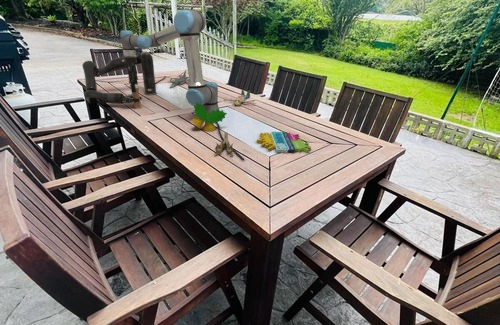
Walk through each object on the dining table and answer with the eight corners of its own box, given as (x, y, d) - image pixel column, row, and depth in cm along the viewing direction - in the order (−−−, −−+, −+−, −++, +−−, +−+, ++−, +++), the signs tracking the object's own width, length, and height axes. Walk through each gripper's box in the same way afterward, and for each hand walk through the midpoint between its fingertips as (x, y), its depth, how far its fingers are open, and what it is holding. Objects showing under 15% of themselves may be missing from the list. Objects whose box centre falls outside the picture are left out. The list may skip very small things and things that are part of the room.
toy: (261, 91, 228) (254, 99, 202) (261, 99, 231) (253, 108, 205) (231, 87, 233) (220, 95, 207) (230, 95, 236) (219, 104, 210)
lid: (135, 86, 188) (135, 83, 187) (140, 87, 185) (140, 85, 184) (128, 87, 184) (128, 84, 183) (133, 89, 181) (133, 86, 180)
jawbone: (234, 135, 144) (233, 125, 135) (233, 160, 138) (232, 151, 129) (217, 135, 144) (216, 125, 135) (216, 160, 138) (214, 150, 129)
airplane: (160, 80, 270) (159, 70, 265) (190, 78, 283) (189, 68, 278) (168, 89, 242) (167, 78, 236) (201, 87, 255) (201, 77, 250)
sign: (313, 150, 142) (258, 149, 139) (312, 153, 143) (258, 152, 140) (301, 132, 164) (254, 130, 161) (301, 134, 165) (254, 133, 162)
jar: (142, 107, 192) (139, 86, 184) (135, 108, 188) (132, 87, 181) (139, 105, 194) (136, 84, 187) (133, 107, 191) (129, 85, 184)
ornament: (218, 133, 171) (224, 110, 169) (221, 134, 163) (227, 111, 161) (186, 125, 162) (192, 101, 160) (189, 126, 155) (195, 101, 153)
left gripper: (110, 95, 179) (136, 96, 181) (118, 90, 191) (142, 91, 193) (113, 106, 183) (138, 107, 184) (120, 100, 195) (143, 101, 197)
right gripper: (132, 59, 166) (137, 94, 177) (139, 54, 184) (143, 87, 195) (119, 58, 165) (126, 94, 176) (127, 54, 183) (132, 87, 194)
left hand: (140, 99), depth 189 cm, fingers closed on jar, 5 cm apart
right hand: (135, 90), depth 185 cm, fingers open, 8 cm apart
